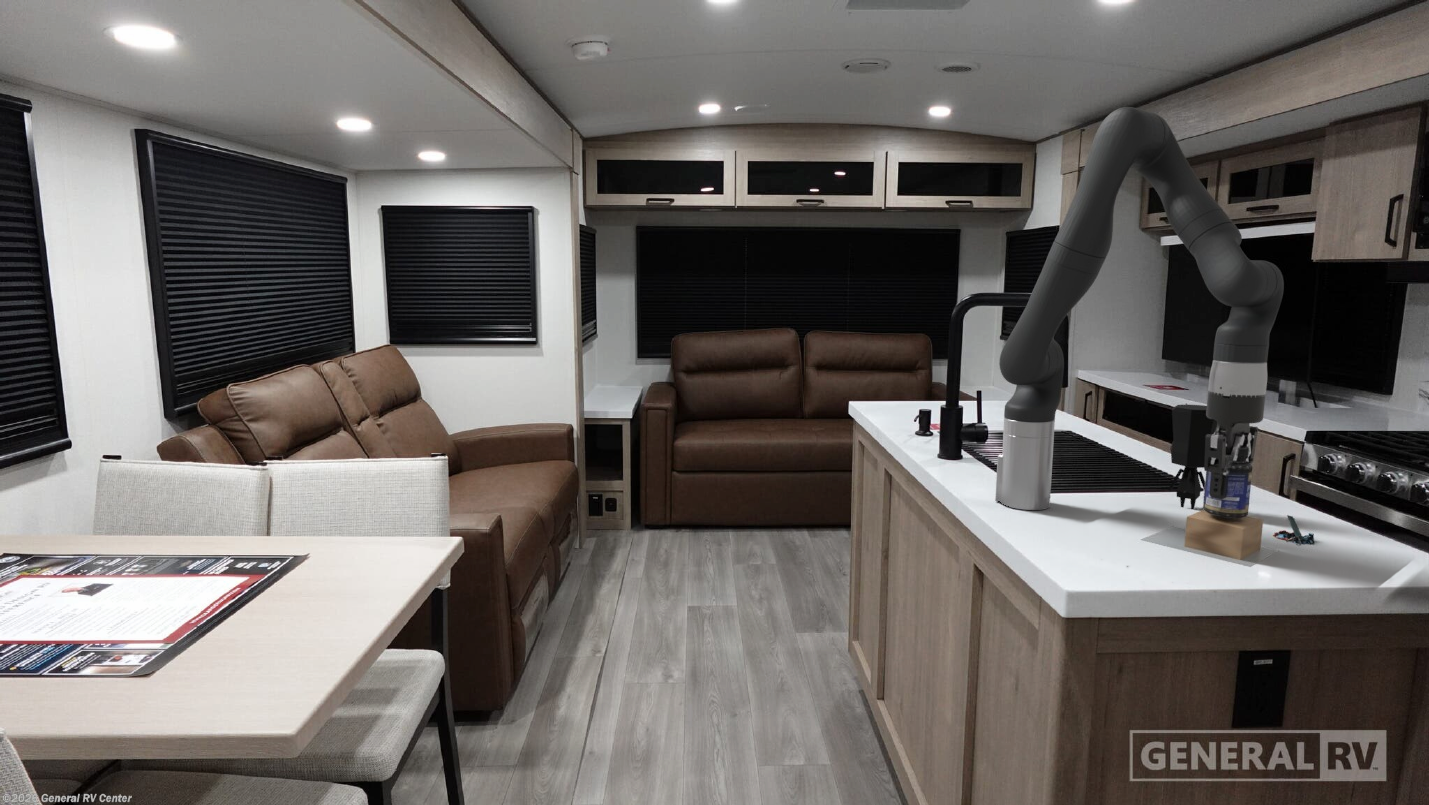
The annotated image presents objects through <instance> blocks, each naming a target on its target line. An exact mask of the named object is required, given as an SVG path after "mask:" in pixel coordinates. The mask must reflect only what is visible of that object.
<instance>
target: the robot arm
mask: <svg viewBox="0 0 1429 805" xmlns="http://www.w3.org/2000/svg"><path fill="white" fill-rule="evenodd" d="M1084 165H1085V166H1084V168H1083V172H1082V174H1081V176H1080V180H1079V183H1078V185H1077V188H1076V190H1075V193H1074V195H1073V197H1072V201H1071V202H1070V204H1069V207H1068V209H1067V213H1066V214H1065V217H1064V220H1063V222H1062V223H1061V226H1060V228H1059V231H1058V232H1057V235H1056V236H1055V239H1054V241H1053V243H1052V244H1051V247H1050V250H1049V252H1048V254H1047V257H1046V260H1045V262H1044V264H1043V267H1042V270H1041V271H1040V274H1039V276H1038V279H1037V281H1036V283H1035V284H1034V288H1033V289H1032V292H1031V294H1030V297H1029V298H1028V302H1027V304H1026V305H1025V308H1024V309H1023V312H1022V314H1021V315H1020V317H1019V319H1018V321H1017V323H1016V324H1015V326H1014V328H1013V330H1012V331H1011V333H1010V335H1009V337H1008V338H1007V340H1006V342H1005V344H1004V346H1002V349H1001V352H1000V356H999V370H1000V373H1001V375H1002V377H1003V379H1004V380H1005V381H1007V382H1008V383H1010V384H1012V385H1015V386H1016V389H1015V391H1014V393H1013V395H1012V396H1011V398H1010V399H1009V400H1008V401H1007V402H1006V403H1005V405H1004V409H1003V410H1004V414H1003V432H1002V453H1000V454H998V455H997V460H996V461H997V465H996V482H995V498H994V499H995V501H994V502H997V501H1000V502H1001V503H1002V504H1001V503H1000V502H999V503H1000V504H1001V505H1003V504H1004V505H1003V506H1005V505H1006V506H1005V507H1008V506H1009V508H1013V509H1017V510H1027V511H1038V510H1039V511H1040V510H1045V509H1048V508H1049V507H1050V502H1051V489H1052V473H1053V472H1052V471H1053V457H1054V443H1055V442H1054V441H1055V440H1054V438H1055V425H1056V424H1055V420H1056V413H1057V410H1058V407H1059V405H1060V402H1061V398H1062V390H1063V380H1064V378H1063V377H1064V370H1065V361H1064V360H1065V358H1064V353H1063V350H1062V348H1061V345H1060V344H1059V343H1058V341H1056V340H1055V338H1054V337H1055V336H1056V335H1055V334H1056V333H1057V330H1058V329H1059V327H1060V325H1061V324H1062V322H1063V320H1064V319H1065V318H1066V316H1067V315H1068V314H1069V313H1070V312H1071V311H1072V310H1073V308H1074V307H1076V305H1077V304H1078V303H1079V302H1080V301H1081V299H1082V298H1083V297H1084V296H1085V295H1086V293H1087V292H1088V291H1089V290H1090V289H1091V287H1092V286H1093V284H1094V283H1095V280H1096V279H1097V278H1098V276H1099V273H1100V271H1101V269H1102V267H1103V266H1104V263H1105V260H1106V258H1107V256H1108V255H1109V252H1110V250H1111V249H1110V248H1111V245H1112V242H1113V241H1112V240H1113V233H1114V232H1113V231H1114V230H1113V228H1114V212H1115V210H1114V209H1115V204H1116V200H1117V196H1118V193H1119V191H1120V188H1121V186H1122V185H1123V183H1124V180H1125V178H1126V175H1127V174H1128V172H1129V170H1130V169H1133V170H1135V171H1136V172H1137V173H1138V174H1140V175H1141V176H1142V177H1143V178H1144V179H1145V180H1146V181H1148V183H1149V184H1150V185H1151V186H1152V187H1153V188H1154V190H1155V192H1157V195H1158V197H1159V198H1160V201H1161V203H1162V206H1163V209H1164V211H1165V214H1166V215H1165V216H1166V217H1167V221H1168V222H1169V224H1170V226H1171V228H1172V230H1173V231H1174V233H1175V235H1177V237H1178V239H1179V240H1180V242H1182V243H1183V245H1184V246H1185V247H1186V250H1188V251H1189V253H1190V254H1191V255H1192V256H1193V257H1194V259H1195V261H1196V264H1197V268H1198V270H1199V272H1200V275H1201V277H1202V279H1203V281H1204V284H1205V286H1206V288H1207V289H1208V290H1209V292H1210V293H1211V295H1213V298H1215V299H1216V300H1217V301H1219V303H1222V304H1223V305H1225V306H1229V307H1231V309H1230V312H1229V316H1228V319H1227V321H1225V322H1224V323H1222V324H1221V325H1219V327H1218V328H1217V330H1216V333H1215V338H1214V344H1213V345H1214V346H1213V356H1212V358H1213V359H1212V364H1211V368H1210V372H1209V379H1208V380H1209V381H1208V390H1207V399H1206V400H1207V402H1206V406H1207V409H1206V416H1207V417H1208V418H1209V419H1212V420H1216V421H1217V423H1218V424H1217V427H1216V431H1215V432H1214V435H1212V434H1207V435H1206V437H1205V462H1204V468H1203V469H1204V471H1205V472H1206V471H1208V472H1209V473H1212V474H1211V481H1210V491H1209V495H1210V497H1212V498H1218V499H1224V498H1226V497H1227V487H1228V477H1229V476H1228V474H1229V471H1230V468H1231V464H1232V463H1235V462H1236V460H1237V457H1238V453H1239V449H1240V447H1241V446H1246V447H1249V454H1248V456H1247V457H1246V461H1248V462H1249V463H1250V464H1251V465H1252V464H1253V463H1254V461H1255V459H1254V458H1255V452H1256V446H1257V437H1258V432H1259V428H1258V426H1254V425H1251V424H1258V423H1260V422H1262V421H1263V420H1264V414H1265V413H1264V412H1265V405H1266V404H1265V403H1266V394H1267V386H1268V384H1267V383H1268V357H1269V349H1270V348H1269V347H1270V335H1271V334H1270V333H1271V331H1272V328H1273V327H1274V324H1275V321H1276V318H1277V315H1278V312H1279V310H1280V306H1281V303H1282V299H1283V295H1284V288H1285V286H1284V284H1285V282H1284V276H1283V274H1282V272H1281V269H1280V268H1279V267H1278V266H1277V265H1276V264H1275V263H1272V262H1270V261H1267V260H1260V259H1259V260H1257V259H1254V260H1253V259H1252V260H1251V259H1250V258H1248V257H1247V255H1246V254H1245V253H1244V251H1243V250H1242V248H1241V246H1240V245H1241V243H1242V237H1243V236H1242V233H1241V232H1240V229H1239V228H1238V227H1237V225H1236V224H1235V223H1234V221H1233V220H1232V219H1231V218H1230V217H1229V215H1228V214H1227V212H1225V210H1224V209H1223V208H1222V207H1221V206H1220V205H1219V203H1218V202H1217V201H1216V199H1214V197H1213V196H1212V194H1211V193H1210V192H1209V191H1208V190H1207V188H1206V187H1205V186H1204V184H1203V183H1202V181H1201V180H1200V178H1199V177H1198V176H1197V174H1196V173H1195V171H1194V170H1193V168H1192V166H1191V164H1190V163H1189V161H1188V160H1187V158H1186V156H1185V154H1184V153H1183V150H1182V149H1181V147H1180V145H1179V143H1178V140H1177V138H1176V136H1175V134H1174V133H1173V131H1172V129H1171V127H1170V125H1169V124H1168V122H1167V121H1166V119H1164V117H1163V116H1160V115H1158V114H1156V113H1154V112H1150V111H1148V110H1144V109H1140V108H1138V107H1137V108H1136V107H1132V106H1124V107H1123V106H1122V107H1119V108H1117V109H1115V110H1113V111H1112V112H1111V113H1109V114H1108V115H1107V116H1106V117H1105V118H1104V119H1103V121H1102V122H1101V123H1100V124H1099V127H1098V129H1097V130H1096V133H1095V135H1094V137H1093V141H1092V143H1091V147H1090V149H1089V152H1088V156H1087V159H1086V162H1085V164H1084ZM1226 453H1229V454H1230V453H1231V454H1230V455H1225V454H1226ZM1211 458H1212V460H1211ZM1218 461H1219V464H1218V465H1217V462H1218Z"/></svg>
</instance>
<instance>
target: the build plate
mask: <svg viewBox="0 0 1429 805" xmlns="http://www.w3.org/2000/svg"><path fill="white" fill-rule="evenodd" d="M1185 533H1186V528H1183V527H1178V526H1174V525H1172V526H1170V527H1168V528H1166V529H1163V530H1160V531H1157V532H1156V533H1153V534H1151V535H1147V536H1146V537H1143V538H1141V539H1140V541H1142V542H1148V543H1151V544H1155V545H1159V546H1164V547H1167V548H1168V547H1169V548H1172V549H1176V550H1180V551H1183V552H1187V553H1192V554H1196V555H1201V556H1204V557H1209V558H1212V559H1216V560H1220V561H1225V562H1228V563H1232V564H1237V565H1241V566H1245V567H1249V568H1251V567H1252V566H1254V565H1256V564H1258V563H1260V562H1262V561H1263V560H1265V559H1267V558H1269V557H1270V556H1273V555H1274V554H1276V553H1278V552H1280V550H1279V549H1276V548H1271V547H1266V546H1262V545H1261V547H1260V550H1258V551H1257V552H1255V553H1253V554H1251V555H1249V556H1247V557H1245V558H1243V559H1241V560H1238V559H1233V558H1229V557H1225V556H1221V555H1217V554H1213V553H1209V552H1205V551H1200V550H1196V549H1192V548H1188V547H1184V545H1185Z"/></svg>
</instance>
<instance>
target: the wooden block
mask: <svg viewBox="0 0 1429 805" xmlns="http://www.w3.org/2000/svg"><path fill="white" fill-rule="evenodd" d="M1185 524H1186V525H1185V529H1186V533H1185V545H1184V547H1188V548H1192V549H1196V550H1200V551H1205V552H1209V553H1213V554H1217V555H1221V556H1225V557H1229V558H1233V559H1238V560H1241V559H1243V558H1245V557H1247V556H1249V555H1251V554H1253V553H1255V552H1257V551H1258V550H1260V547H1261V546H1262V537H1263V536H1262V535H1263V526H1264V518H1260V517H1259V518H1258V517H1254V516H1249V515H1247V516H1246V517H1244V518H1227V517H1220V516H1216V515H1212V514H1209V513H1207V512H1206V511H1204V509H1203V510H1202V509H1201V510H1199V511H1198V512H1195V513H1192V514H1191V515H1188V516H1186V522H1185Z"/></svg>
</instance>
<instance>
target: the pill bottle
mask: <svg viewBox="0 0 1429 805" xmlns="http://www.w3.org/2000/svg"><path fill="white" fill-rule="evenodd" d="M1230 454H1231V453H1230ZM1230 454H1229V453H1226V454H1225V455H1230ZM1248 454H1249V447H1246V446H1241V447H1240V449H1239V453H1238V457H1237V460H1236V462H1235V463H1232V464H1231V468H1230V471H1229V474H1228V476H1229V477H1228V487H1227V497H1226V498H1224V499H1218V498H1212V497H1210V495H1209V491H1210V481H1211V474H1212V473H1209V472H1208V471H1205V478H1204V480H1205V490H1204V489H1203V490H1204V492H1203V501H1202V502H1203V504H1202V509H1203V510H1204V511H1206V512H1207V513H1209V514H1212V515H1216V516H1220V517H1227V518H1244V517H1246V516H1249V507H1250V497H1251V487H1252V486H1251V485H1252V479H1253V478H1252V477H1253V476H1252V475H1253V466H1252V464H1251V463H1249V462H1248V461H1246V457H1247V456H1248ZM1211 460H1212V458H1211ZM1218 464H1219V461H1218V462H1217V465H1218Z"/></svg>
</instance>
